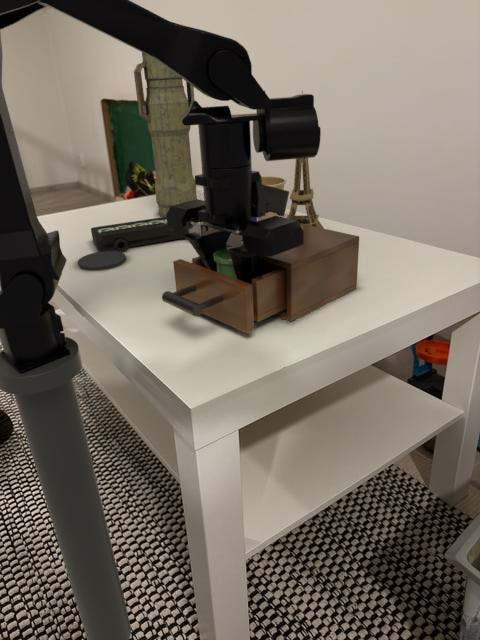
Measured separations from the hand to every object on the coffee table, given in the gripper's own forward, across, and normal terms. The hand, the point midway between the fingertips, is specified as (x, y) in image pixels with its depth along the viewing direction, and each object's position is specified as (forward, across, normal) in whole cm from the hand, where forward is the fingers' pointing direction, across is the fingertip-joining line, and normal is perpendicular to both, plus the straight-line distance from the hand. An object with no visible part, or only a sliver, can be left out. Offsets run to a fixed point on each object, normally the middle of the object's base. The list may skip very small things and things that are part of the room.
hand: (234, 290), depth 65 cm
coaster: (+3, +32, +2) cm, 32 cm away
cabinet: (+3, 0, -10) cm, 10 cm away
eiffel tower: (+3, +9, -24) cm, 25 cm away
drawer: (+2, 0, 0) cm, 2 cm away
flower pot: (+3, +26, -32) cm, 41 cm away
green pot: (+1, 0, 0) cm, 1 cm away
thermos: (+3, +48, -26) cm, 55 cm away
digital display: (+3, +36, -12) cm, 38 cm away
